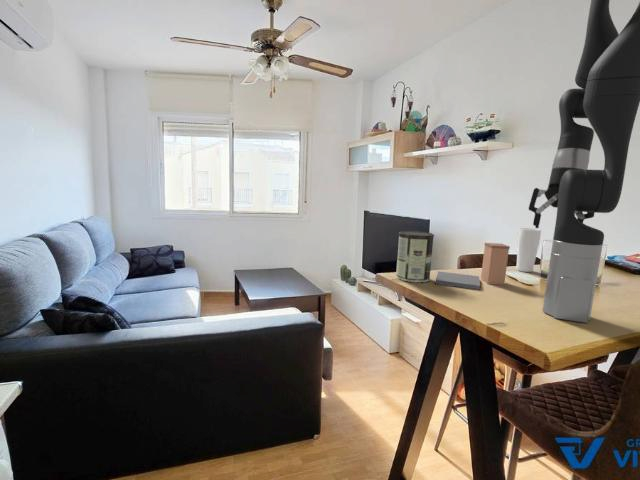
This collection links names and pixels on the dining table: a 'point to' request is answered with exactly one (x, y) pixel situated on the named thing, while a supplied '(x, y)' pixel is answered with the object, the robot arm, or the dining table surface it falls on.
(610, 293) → the dining table surface
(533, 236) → the drinking glass
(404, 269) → the coffee can
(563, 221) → the robot arm
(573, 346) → the dining table surface
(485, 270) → the tea tin
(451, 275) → the slate coaster
